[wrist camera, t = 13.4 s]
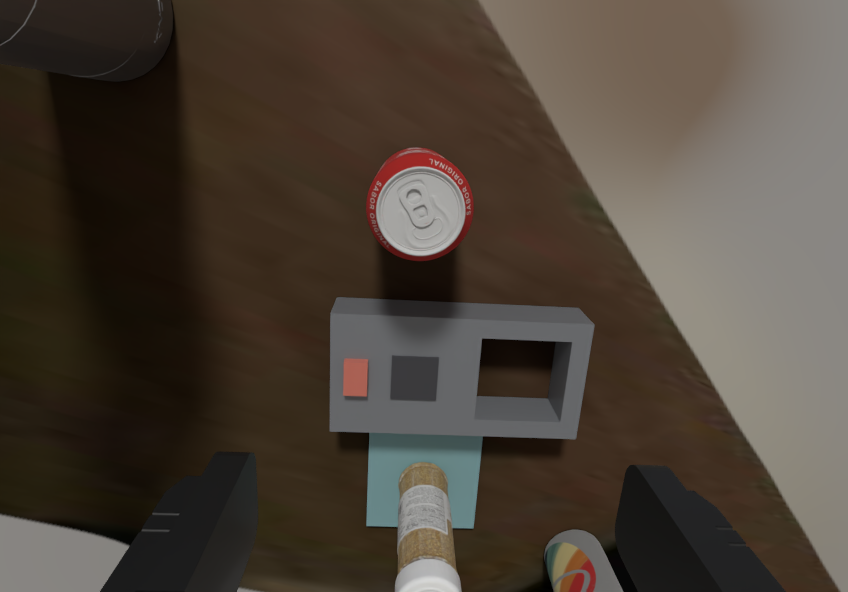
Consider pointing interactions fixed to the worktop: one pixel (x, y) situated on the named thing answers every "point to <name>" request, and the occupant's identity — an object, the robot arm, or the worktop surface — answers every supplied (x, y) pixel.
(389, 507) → the mat
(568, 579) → the lotion bottle
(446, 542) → the sprinkles bottle
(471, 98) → the worktop surface
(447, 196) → the beverage can
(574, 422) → the power strip
